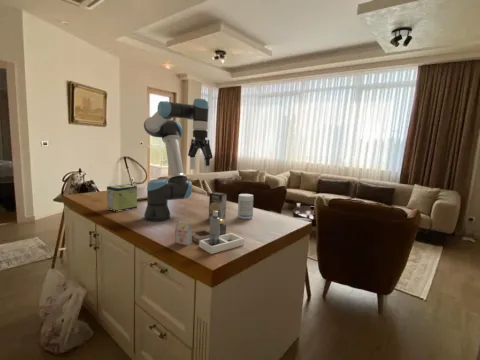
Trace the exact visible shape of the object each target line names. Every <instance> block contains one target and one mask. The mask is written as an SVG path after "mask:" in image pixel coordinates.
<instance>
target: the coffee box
mask: <svg viewBox="0 0 480 360" xmlns="http://www.w3.org/2000/svg"><path fill="white" fill-rule="evenodd" d="M227 197H228V196H227V193H224V192H218V191H213V192H210V193H209V207H208V220H210V217H212V215H213V211H214V210H216V211H218V217H220V218H221V219H224V220H226V214H227V213H226V212H227Z"/></svg>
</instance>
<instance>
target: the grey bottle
mask: <svg viewBox="0 0 480 360" xmlns="http://www.w3.org/2000/svg"><path fill="white" fill-rule="evenodd" d="M209 230H210V234H209V245H211V246H214V245H218V244H219V236H221V235H220V217H218V211H216V210H214V211H213V215H212V217H210V219H209Z"/></svg>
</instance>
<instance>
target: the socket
mask: <svg viewBox="0 0 480 360" xmlns="http://www.w3.org/2000/svg"><path fill="white" fill-rule="evenodd" d="M209 234H210V228H207V227H205V228H201V229H197V230H196V229H195V230H192V242H193V241H194V242H195V243H196V244H199V240H203V239H208V238H209ZM225 234H227V224H226V223H224V224H222V225H220V236H221V235H225Z"/></svg>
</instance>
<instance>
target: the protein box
mask: <svg viewBox="0 0 480 360" xmlns="http://www.w3.org/2000/svg"><path fill="white" fill-rule="evenodd" d="M106 203H107V204H106V207H107V208H109V209H112V210H115V211H118V210H126V209H131V210H133V209H132V208H136V209H138V186H137V185H133V184H128V183H125V184H119V185H118V184H117V185H110V186H109V185H108V186H106ZM107 208H106V209H107ZM126 211H127V210H126Z"/></svg>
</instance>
